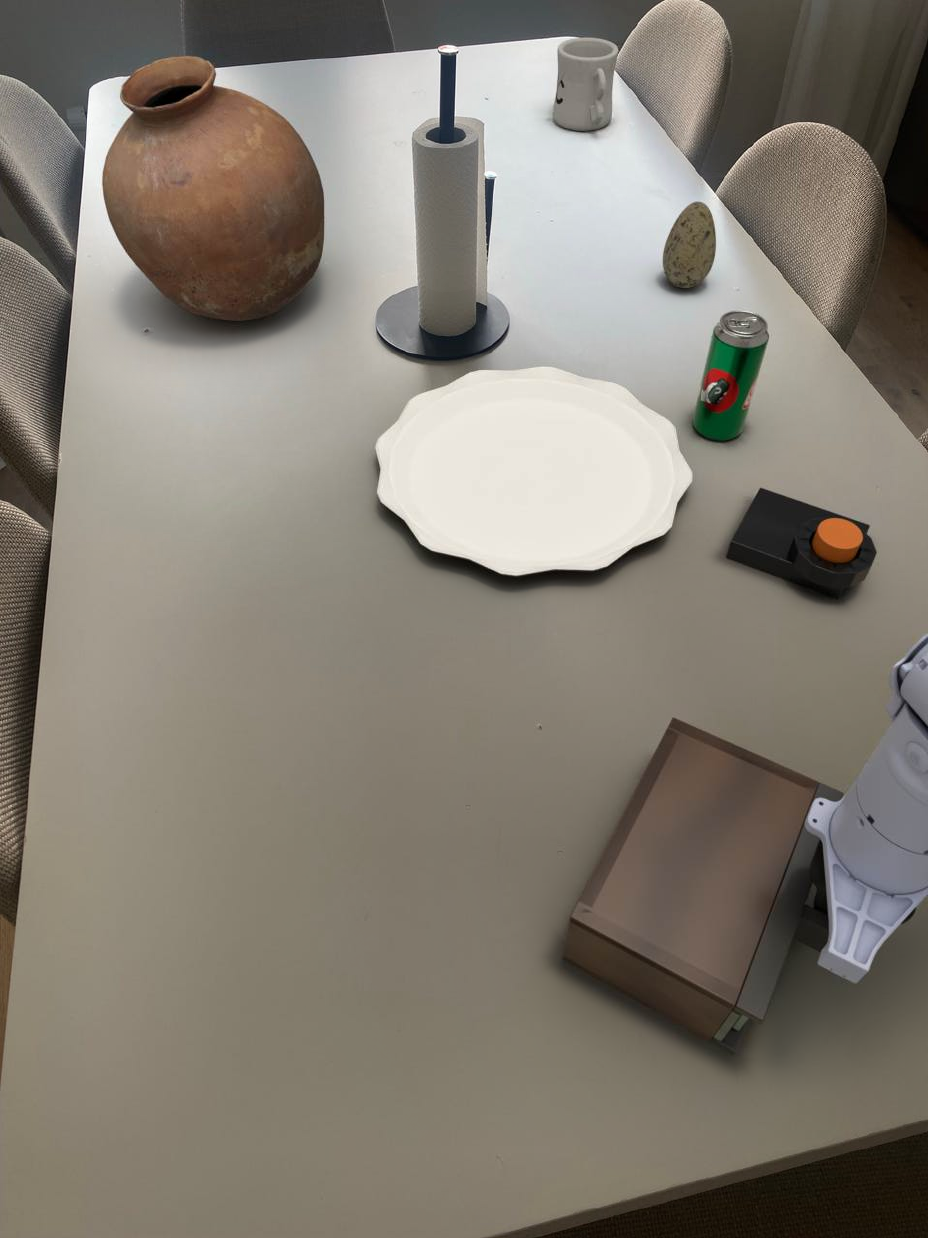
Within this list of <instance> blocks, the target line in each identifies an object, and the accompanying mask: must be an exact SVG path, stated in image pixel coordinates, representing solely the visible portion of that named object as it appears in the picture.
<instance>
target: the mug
mask: <svg viewBox="0 0 928 1238" xmlns="http://www.w3.org/2000/svg"><path fill="white" fill-rule="evenodd" d="M556 51H557V80H556V91H555V98H554V104H553V107H552V117H553V120H554V122H555V123H556V124H557V125H559V126H560V127H562V128H564V129H567V130H571V131H578V132H579V131H581V132H585V131H586V132H588V131H596V130H600V129H602V128H604V127H605V126H607V125H608V124H609V123H610V122H611V120H612V117H613V87H614V75H615V69H616V67H617V60H618V55H619V47H618V46H617V45H616V44H615V43H614V42H612V41H609V40H607V39H604V38H603V39H602V38H597V37H575V38H570V39H567V40H564V41H562V42H561V43H560V44H559V45H558V46H557V49H556Z"/></svg>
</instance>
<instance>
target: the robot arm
mask: <svg viewBox="0 0 928 1238" xmlns="http://www.w3.org/2000/svg"><path fill="white" fill-rule="evenodd" d="M887 680H888V686H889V688H890V690H891V691H892V692H893V694H892V697H891V699H890V701H889V702H888V704H887V706H886V707H885V711H886V712H887V714H888V715H889V719H890V720H891V721H892V722H891V723H890V724H889V726H888V728H887V730H885V733H884V734H883V736H882V737H881V739H880V741H879V742H878V744H877V745H876V746H875V748H874V750H873V752H872V753H871V755H870V756H869V757H868V759H867V761H866V762H865V764H864V766H863V767H862V769H861V771H860V772H859V774H858V775H857V776H856V778H855V780H854V782H853V783H852V785H851V786H850V787H849V789H848V791H847V792H846V793H845V794H844V795H843V797H842V799H841V800H840V801H838V802H832V801H829V800H827V799H825V798H816V799H815V800H814V802H813V803H812V805H811V807H810V809H809V812H808V815H807V817H806V820H805V828H806V829H807V831H809V832H810V833H812V834H814V835H816V836H818V837H819V838H820V840H819V842H818V845H817V847H816V850H815V853H814V856H813V858H812V861H811V864H810V871H809V879H810V880H811V882H812V885H813V886H815V888H816V892H815V895H814V899H813V905H812V908H815V909H817V910H819V911H821V912H823V913H825V914H827V915H828V916H829V937H828V943H827V944H826V946H825V947H824V948H823V949H822V951H821V953H819V954H820V955H819V957H818V960H817V965H818V966H819V967H822V968H823V969H825V970H828V971H829V972H831V973H833V974H835V975H837V976H838V977H841V978H842V979H845V980H847V981H849V982H851V983H853V984H855V985H856V984H857V983H858V982H860V981H861V979H863V977H864V976H865V975H866V974H867V973H868V972H869V971H870V968H871V966H872V963H873V960H874V958H875V956H876V954H877V953H878V951H879V949H880V948H881V947H882V946H883V944H884V943H885V941H886V940H887V939H888V938H889V937H890V936H891V935H892V934H893V933H894V932H895V930H896V929H897V928H898V927H899V926H900V925H904V924H906V923H908V921H910V920H911V919H912V918H913V916H914V915H915V913H916V909H917V907H918V905H919V904H920V903H921V902H922V901H923V900H924V898H926V896H927V895H928V632H927V633H925V634H924V635H922V636H921V638H919V639H918V640H917V641H916V642H915V643H914V644H913V645H912V646H911V648H910V649H909V650H908V651H907V652H906V653H905V654H904V656H903V657H902V658H901V659H900V660H899V661H898V662H896V663H895V664H894V665H893V667H892V668H891V670H890V672H889V676H888V679H887Z"/></svg>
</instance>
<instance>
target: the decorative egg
mask: <svg viewBox="0 0 928 1238" xmlns="http://www.w3.org/2000/svg"><path fill="white" fill-rule="evenodd" d="M716 250H717V233H716V226H715V220H714V217H713V214H712V211H711V210H710V208H709V206H708V205H707V204H706V203H704V202H702V201H694V202H692V203H689V204H688V205H687V206H686V207H685V208H683V210H682V211H681V213H680V214H679V215H678V216H677V218H676V220H675V221H674V223H673V225H672V227H671V229H670V231H669V233H668V236H667V238H666V241H665V244H664V248H663V252H662V269H663V272H664V275H665V276H666V279H667V280H668V281H669V282H670V283H671V284H672V285H673V286H675V287H677V288H681V289H690V288H694V287H696V286H698V285H699V284H701V283H702V282H703V281H704V280H706V278H707V276H708V275H709V274H710V272H711V270H712V268H713V266H714V263H715V258H716V253H717V252H716Z"/></svg>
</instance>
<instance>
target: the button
mask: <svg viewBox="0 0 928 1238" xmlns="http://www.w3.org/2000/svg"><path fill="white" fill-rule="evenodd" d="M862 540H863V535H862V532H861V530H860V529H859V528H858V527H857V526H856V525H855V524H853V523H852V522H850V521H847V520H844V519H839V518H830V519H826V520H824V521H822V522H821V523H820V524H819V526H818V528H817V531H816V533H815V536H814V538H813V541H812V547H813V550H814V552H815V553H816V554H817V555H818V556H820V557H821V558H823V559H825V560H828V561H831V562H834V563H846V562H849V561H851V560H852V559H853V558H854V557H855V555H856V553H857V551H858V549H859V547H860V545H861V543H862Z"/></svg>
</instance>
